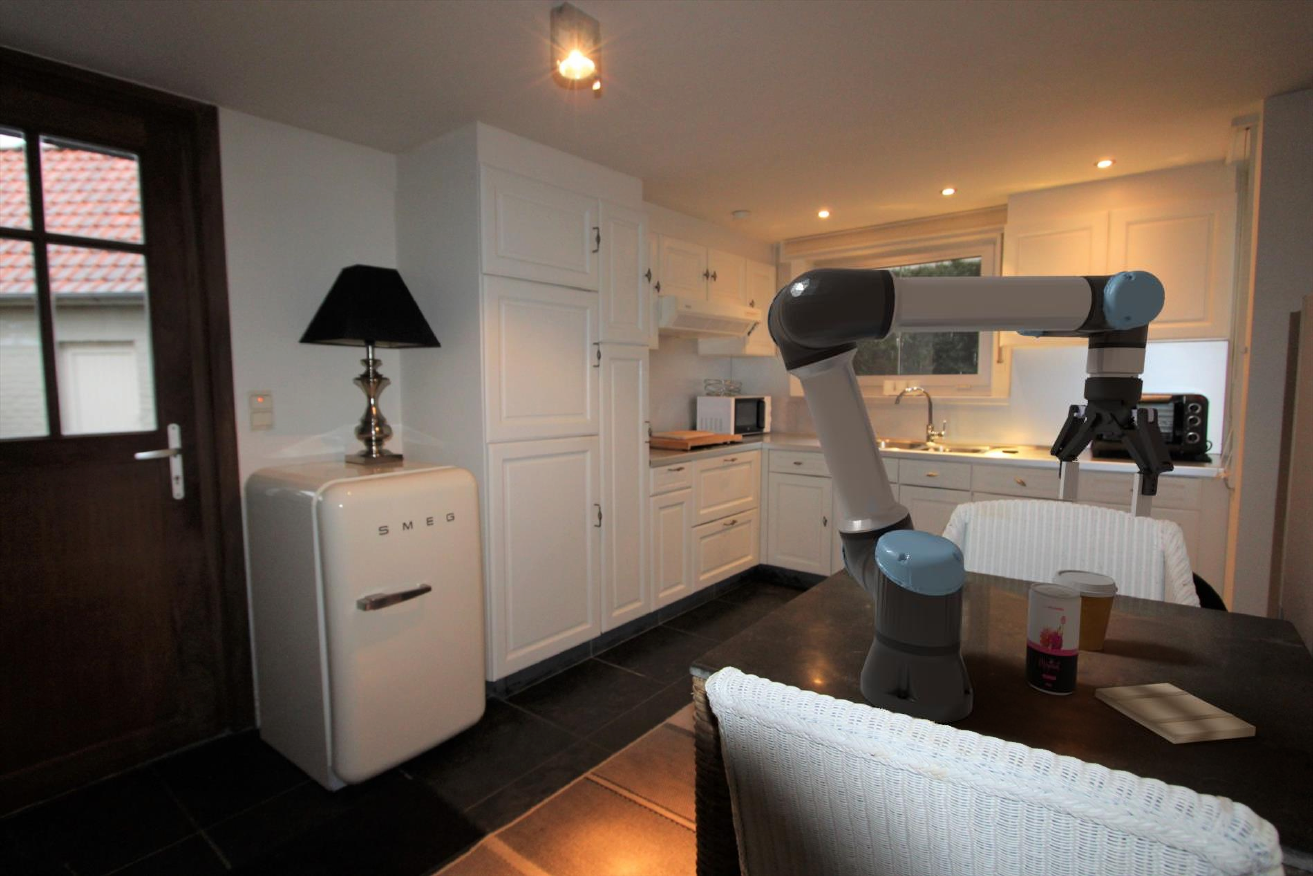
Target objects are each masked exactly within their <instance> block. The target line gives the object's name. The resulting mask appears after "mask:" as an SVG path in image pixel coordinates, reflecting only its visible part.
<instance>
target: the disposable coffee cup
mask: <svg viewBox="0 0 1313 876" xmlns="http://www.w3.org/2000/svg"><path fill="white" fill-rule="evenodd" d="M1053 576H1054V577H1052V578H1051V582H1052V583H1053V584H1060V585H1064V586H1068V587H1071V588H1074V589H1076V590H1078V591H1079V592H1080V597H1081V613H1080V630H1079V647H1078V650H1081V651H1093V652H1094V651H1095V652H1096V651H1101V650H1102V649H1104V643H1105V639H1106V634H1107V629H1108V625H1109V620H1110V617H1111V613H1112V612H1111V611H1112V607H1113V604H1114V598H1115V596H1116V593H1118V590H1119V588H1118V587H1117V586H1116V580H1115V579H1114V578H1111V577H1109V576H1107V575H1105V574H1102V573H1098V572H1094V571H1087V570H1082V569H1081V570H1079V569H1060V570H1057V571H1055V574H1054V575H1053Z"/></svg>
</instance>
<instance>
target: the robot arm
mask: <svg viewBox="0 0 1313 876" xmlns="http://www.w3.org/2000/svg"><path fill="white" fill-rule="evenodd" d="M1165 295H1166V293H1165V288H1164V286H1163V283H1162V281H1161V280H1160V279H1159V278H1158V276H1157V275H1154V274H1153V273H1150V272H1148V271H1145V270H1130V271H1127V270H1126V271H1125V270H1124V271H1121V272H1117V273H1115V274H1109V275H1106V274H1104V275H1020V276H1019V275H1010V276H1009V275H1008V276H1005V275H1004V276H1001V275H1000V276H999V275H997V276H995V275H993V276H990V275H989V276H896V275H895V274H894V273H893V271H892V270H890V269H867V268H866V269H864V268H863V269H860V268H841V267H838V268H837V267H822V268H821V267H820V268H815V269H810V270H809V271H808V270H807V271H805V272H803V273H801V274H800V275H798V276H797V277H795V278H794V279H792V281H791V282H789V283H788V284H786V285H784V286H783V287H782V288H781V289H780V290H779V291H778V292H777V293H776V294H775V295H774V297H773V298H772V300H771V303H770V305H769V308H768V312H767V317H766V320H767V321H766V323H767V330H768V333H769V336H770V338H771V339H772V342H773V343H774V344H775V345H776V346H777V347H778V349H779V351H780V355H781V358H782V360H783V363H784V367H785V370H786V372H787V374H790V375H792V376H793V377H796V378H797V379H798V380H799V383H800V385H801V388H802V391H803V395H804V398H805V401H806V404H807V407H808V411H809V412H810V416H811V420H812V422H813V426H814V429H815V432H816V435H817V438H818V441H819V444H820V447H821V451H822V453H823V457H824V460H825V463H826V466H827V469H828V472H829V475H830V478H831V481H832V484H833V487H834V491H835V493H836V497H837V499H838V502H839V506H840V510H841V511H842V516H841V517H840V518H839V519H840V520H839V521H838V522H837V530H838V533H839V537H840V540H841V550H840V551H841V557H842V561H843V564H844V566H845V569H846V570H847V572H848V574H849V575H850V576H851V578H853V580H854V581H855V582H856V583H857V584H858V585H860V586H861V587H862V588H863V589H864V590H865V592H867V594H869V595H870V596H871V597H872V599H873V600H874V632H873V633H874V635H873V636H874V637H873V641H872V644H871V646H870V649H869V651H868V654H867V657H866V659H865V662H864V664H863V668H862V670H861V671H860V672H861V673H860V692H861V694H862V695H863V697H864V698H865V699H866V700H867V701H868V702H869V703H870V704H871V705H872V706H874V707H876V708H877V707H880V708H883V709H886V710H890V711H892V712H899V713H902V714H907V715H910V716H914V717H918V718H921V719H928V720H930V721H935V722H936V723H935V724H946V723H952V722H953V723H954V722H957V721H960V720H963V719H965V718H966V717H968V716H969V715H970V714H971V712H972V710H973V698H974V693H973V688H972V685H971V682H970V678H969V675H968V672H967V668H966V665H965V662H964V658H963V656H962V651H961V648H962V647H961V646H962V630H963V629H962V628H963V609H964V608H963V607H964V591H965V590H964V589H965V587H964V585H965V579H966V569H965V560H964V559H965V558H964V554H963V552H962V549H961V548H960V547H959V546H958V545H957V543H955V542H954V541H952V540H951V539H949V538H947V537H944V536H942V535H938V534H937V535H935V534H933V533H932V532H929V531H924V530H916V529H915V525H914V523H913V521H912V517H911V513H910V511H909V508H908V507H907V506H906V505H905V504H902V503H900V502H898V501H897V500H896V498H895V495H894V492H893V490H892V486H891V483H890V480H889V477H888V473H887V470H886V467H885V464H884V461H883V457H882V454H881V452H880V448H879V445H878V441H877V438H876V435H875V431H874V428H873V426H872V422H871V419H870V416H869V413H868V410H867V407H866V403H865V401H864V397H863V394H862V390H861V388H860V384H859V381H858V379H857V375H856V372H855V369H854V368H855V367H854V365H853V360H854V357H855V356H856V353H857V352H858V350H859V349H858V346H857V342H859V341H862V342H863V341H875V340H876V341H878V340H881V341H882V340H884V341H885V340H886V339H887V338H888V337H889V336H890V335H892V334H894V333H952V332H953V333H958V332H959V333H961V332H962V333H963V332H971V333H972V332H973V333H975V332H977V333H978V332H1016V333H1017V334H1019V335H1020V336H1024V337H1032V338H1033V337H1035V338H1036V339H1039V338H1082V339H1088V347H1087V355H1086V365H1085V373H1086V374H1087V375H1089V377H1086V379H1084V390H1083V399H1085V400H1086V401H1087V403H1086V404H1070V405H1069V407H1068V413H1067V418H1066V420H1065V422H1064V424H1063V425H1062V427H1061V429H1060V431H1059V434H1058V436H1057V437H1056V438H1055V441H1054V444H1053V445H1052V447H1051V449H1050V450H1049V454H1050V456H1053V457H1056V458H1057V459H1058V461H1059V469H1058V478H1059V479H1060V482H1059V483H1060V485H1059V494H1058V499H1060V500H1065V501H1066V500H1077V494H1078V482H1079V474H1080V473H1079V472H1080V471H1079V470H1080V461H1079V459H1078V457H1079V456H1080V455H1081V453H1082V452H1084V450H1085V449H1086V448H1087V447H1088V445H1090V444H1091V442H1093V440H1094V439H1095V438H1096V437H1097V436H1099V435H1101V434H1105V435H1109V436H1110V435H1111V436H1113V435H1114V436H1115V437H1116V438H1118V439H1119V440H1120V441H1121V442H1122V444H1123V445H1124V447H1125V449H1126V451H1127V452H1128V453H1129V455H1130V457H1131V458H1132V460H1133V462H1134V463H1135V464H1136V467H1137V468H1138V471H1137V472H1135V473H1134V479H1133V488H1132V498H1131V509H1130V516H1132V517H1136V518H1137V517H1141V518H1142V517H1151V513H1152V504H1153V497H1155V496H1156V495H1157V493H1158V492H1157V491H1158V485H1159V484H1158V483H1159V476H1160V475H1161V474H1164V473H1170V472H1173V471H1174V470H1175V467H1174V463H1173V460H1172V458H1171V454H1170V452H1169V449H1168V447H1167V444H1166V441H1165V439H1164V436H1163V434H1162V431H1161V429H1160V424H1159V411H1158V409H1157V408H1155V407H1154V408H1153V407H1151V408H1150V407H1138V405H1137V404H1138V402H1139V401H1141V400H1142V397H1143V396H1142V395H1143V386H1144V380H1143V379H1142V378H1141V377H1139V376H1140V375H1143V374H1144V371H1145V362H1146V351H1147V342H1148V334H1149V333H1148V332H1149V327H1150V326H1149V325H1150V323H1152V322H1153V321H1154V320H1155V319H1157V317H1158V316H1159V315H1160V313H1161V312H1162V310H1163V309H1164V305H1165V299H1166V297H1165ZM1135 422H1136V423H1135Z"/></svg>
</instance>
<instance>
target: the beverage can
mask: <svg viewBox="0 0 1313 876" xmlns="http://www.w3.org/2000/svg"><path fill="white" fill-rule="evenodd" d="M1028 592H1029V594H1028V610H1027V613H1028V614H1027V628H1026V629H1027V631H1026V632H1027V633H1026V650H1025V667H1024V668H1025V669H1024V670H1025V671H1024V679H1025V681H1026V682H1027V683H1028V684H1029V686H1031V687H1032V688H1034V689H1036V690H1038V691H1040V692H1042V693H1046V694H1049V695H1055V696H1067V695H1070V694H1072V693H1074V692H1075V691H1076V690H1077V681H1078V680H1077V679H1078V678H1077V677H1078V661H1079V649H1078V647H1079V630H1080V613H1081V597H1080V592H1079V591H1078V590H1076V589H1074V588H1071V587H1068V586H1064V585H1060V584H1053V582H1052V583H1051V582H1035V583H1032V584H1031V585H1030V589H1029V590H1028Z"/></svg>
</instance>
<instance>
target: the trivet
mask: <svg viewBox="0 0 1313 876" xmlns="http://www.w3.org/2000/svg"><path fill="white" fill-rule="evenodd" d="M1094 696H1095V698H1097V699H1098V700H1101V702H1104V703H1105V704H1106V705H1108V706H1110V707H1112V708H1113V709H1115V710H1117V711H1118V712H1120V713H1121V714H1123V715H1125V716H1126V717H1128V718H1130V719H1132V720H1134V721H1135V722H1137V723H1139V725H1142V726H1144V727H1146V728H1147V729H1149V730H1150V731H1152V732H1154V733H1155V734H1157V735H1159V736H1161V737H1162V738H1164V739H1165V740H1167V741H1169V742H1171V743H1172V744H1186V743H1187V744H1188V743H1195V742H1205V741H1206V742H1207V741H1215V740H1216V741H1217V740H1225V739H1227V740H1228V739H1238V738H1246V737H1247V738H1248V737H1255V735H1256V726H1255V725H1252V724H1250V723H1248V722H1246V721H1244V720H1242V719H1241V718H1238V717H1237V716H1236V715H1234V714H1232V713H1230V712H1226V711H1224V710H1223V709H1221V708H1219V707H1217V706H1214V705H1212V704H1211V703H1208V702H1207V701H1204V700H1202V699H1201V698H1199V697H1197V696H1194V695H1192V694H1191V692H1190V693H1189V692H1187V691H1186V690H1182V689H1180V688H1179V687H1176V686H1175V685H1173V684H1171V683H1169V682H1165V683H1154V684H1153V683H1152V684H1151V683H1150V684H1141V685H1140V684H1139V685H1128V686H1115V687H1104V688H1102V687H1101V688H1095V695H1094Z"/></svg>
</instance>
